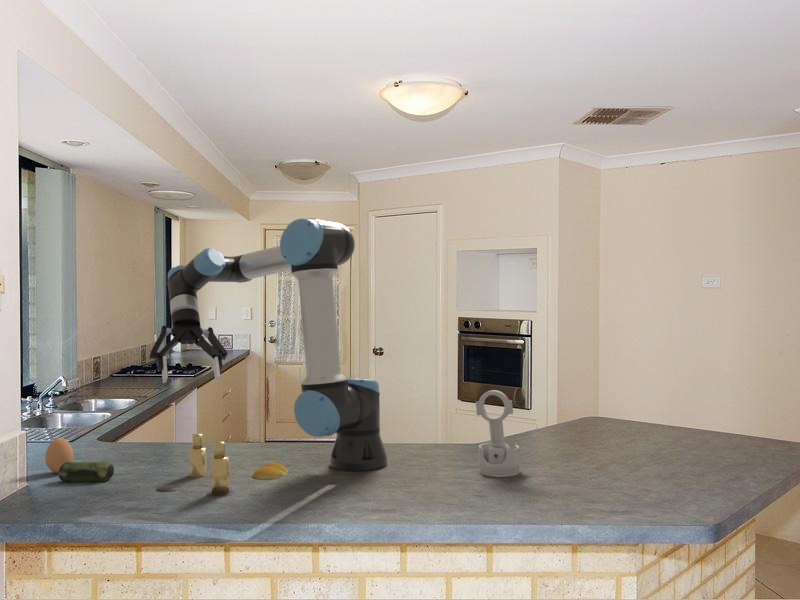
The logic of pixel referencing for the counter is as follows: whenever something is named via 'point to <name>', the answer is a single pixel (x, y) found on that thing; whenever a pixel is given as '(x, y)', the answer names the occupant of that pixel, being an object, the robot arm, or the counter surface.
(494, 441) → the engine component
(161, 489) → the board
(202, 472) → the brass bottle
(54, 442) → the egg
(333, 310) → the robot arm
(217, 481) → the gold bottle
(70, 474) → the vegetable
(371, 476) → the counter surface
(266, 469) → the bread roll
